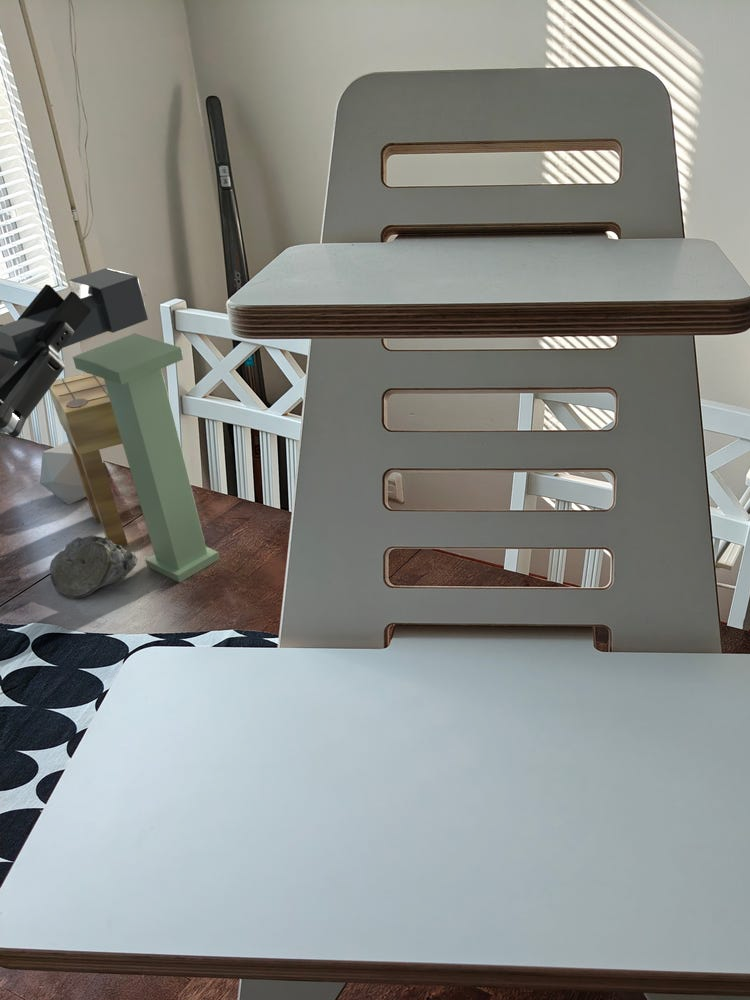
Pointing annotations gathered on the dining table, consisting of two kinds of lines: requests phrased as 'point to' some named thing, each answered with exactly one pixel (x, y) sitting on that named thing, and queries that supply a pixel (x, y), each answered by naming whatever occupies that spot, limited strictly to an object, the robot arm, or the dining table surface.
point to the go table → (91, 442)
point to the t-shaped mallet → (111, 307)
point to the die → (62, 474)
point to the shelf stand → (152, 449)
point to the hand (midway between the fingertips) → (68, 297)
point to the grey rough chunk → (89, 566)
